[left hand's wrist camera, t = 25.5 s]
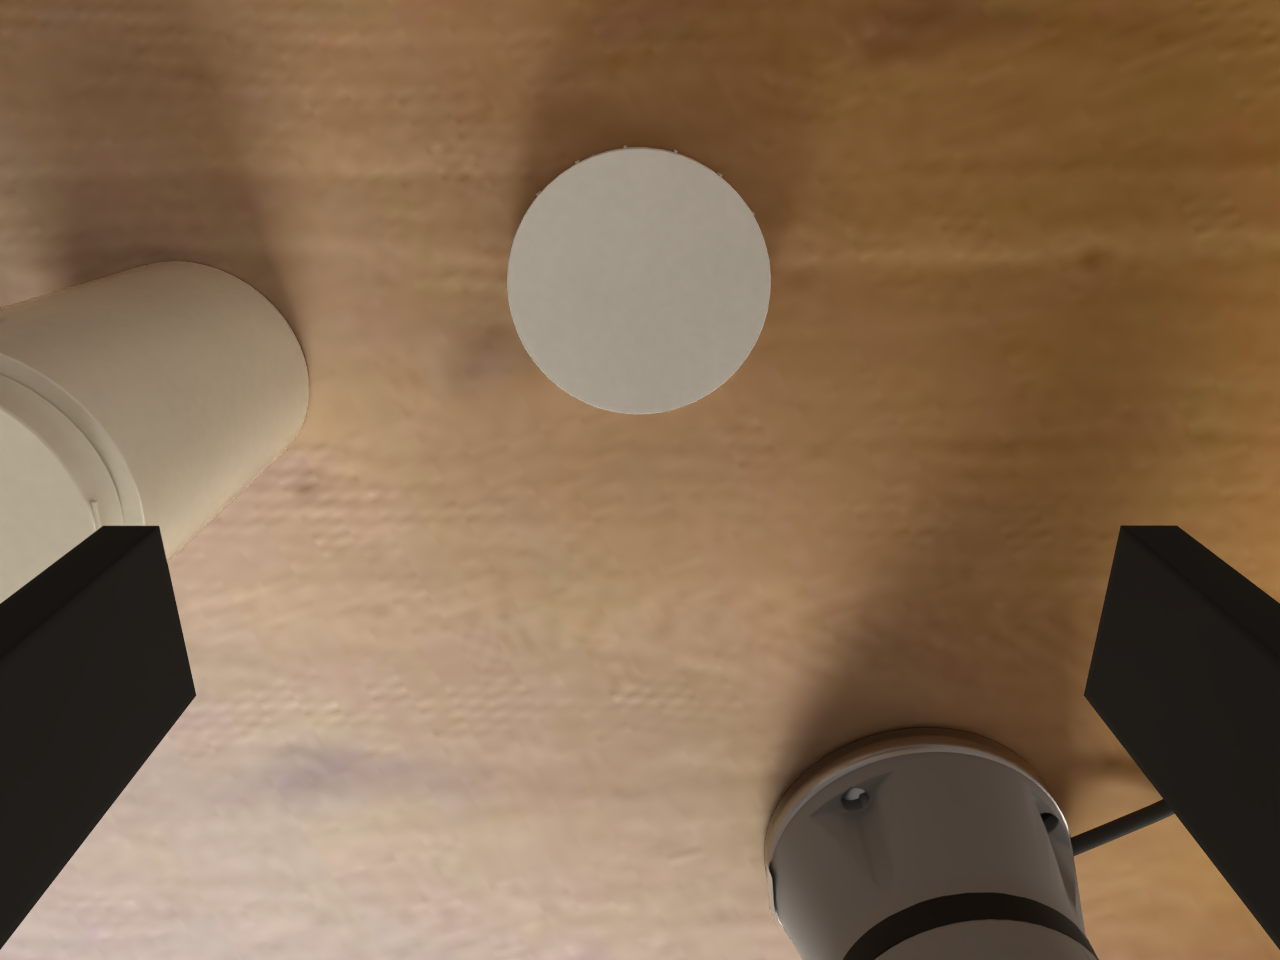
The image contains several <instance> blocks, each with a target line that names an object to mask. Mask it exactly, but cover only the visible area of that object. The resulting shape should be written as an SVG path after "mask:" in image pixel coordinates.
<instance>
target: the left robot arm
mask: <svg viewBox="0 0 1280 960" xmlns="http://www.w3.org/2000/svg"><path fill="white" fill-rule="evenodd" d="M195 696H196V693H195V688H194V684H193V679H192V674H191V670H190V665H189V661H188V656H187V651H186V647H185V642H184V638H183V633H182V628H181V624H180V619H179V615H178V610H177V605H176V601H175V596H174V592H173V587H172V582H171V578H170V573H169V568H168V564H167V559H166V555H165V550H164V545H163V541H162V536H161V532H160V527H159V526H102V527H101V528H99V529H98V530H97V531H95V532H94V533H93V534H92V535H90V536H89V537H88V538H86V539H85V540H84V541H82V542H81V543H80V544H78V545H77V546H76V547H74V548H73V549H72V550H70V551H69V552H68V553H66V554H65V555H64V556H62V557H61V558H60V559H59V560H57V561H56V562H55V563H53V564H52V565H51V566H49V567H48V568H47V569H45V570H44V571H43V572H41V573H40V574H39V575H37V576H36V577H35V578H33V579H32V580H31V581H30V582H28V583H27V584H26V585H24V586H23V587H22V588H20V589H19V590H18V591H16V592H15V593H14V594H12V595H11V596H10V597H8V598H7V599H6V600H4V601H3V602H2V603H0V949H1V948H2V947H3V945H4V944H5V943H6V942H7V940H8V939H9V938H10V936H11V935H12V934H13V932H14V931H15V930H16V929H17V927H18V926H19V925H20V923H21V922H22V921H23V920H24V918H25V917H26V916H27V914H28V913H29V912H30V910H31V909H32V908H33V907H34V905H35V904H36V903H37V901H38V900H39V899H40V897H41V896H42V895H43V894H44V892H45V891H46V890H47V888H48V887H49V886H50V884H51V883H52V882H53V881H54V879H55V878H56V877H57V875H58V874H59V873H60V871H61V870H62V869H63V868H64V866H65V865H66V864H67V862H68V861H69V860H70V858H71V857H72V856H73V855H74V853H75V852H76V851H77V849H78V848H79V847H80V845H81V844H82V843H83V842H84V840H85V839H86V838H87V836H88V835H89V834H90V832H91V831H92V830H93V829H94V827H95V826H96V825H97V823H98V822H99V821H100V820H101V818H102V817H103V816H104V814H105V813H106V812H107V810H108V809H109V808H110V807H111V805H112V804H113V803H114V801H115V800H116V799H117V797H118V796H119V795H120V794H121V792H122V791H123V790H124V788H125V787H126V786H127V784H128V783H129V782H130V781H131V779H132V778H133V777H134V775H135V774H136V773H137V771H138V770H139V769H140V768H141V766H142V765H143V764H144V762H145V761H146V760H147V758H148V757H149V756H150V755H151V753H152V752H153V751H154V749H155V748H156V747H157V745H158V744H159V743H160V742H161V740H162V739H163V738H164V736H165V735H166V734H167V732H168V731H169V730H170V729H171V727H172V726H173V725H174V723H175V722H176V721H177V720H178V718H179V717H180V716H181V714H182V713H183V712H184V710H185V709H186V708H187V707H188V705H189V704H190V703H191V701H192V700H193V699H194V697H195ZM1084 696H1085V697H1086V699H1087V700H1088V701H1089V703H1090V704H1091V705H1092V707H1093V708H1094V709H1095V710H1096V712H1097V713H1098V714H1099V716H1100V717H1101V718H1102V720H1103V721H1104V722H1105V723H1106V725H1107V726H1108V727H1109V729H1110V730H1111V731H1112V732H1113V734H1114V735H1115V736H1116V738H1117V739H1118V740H1119V742H1120V743H1121V744H1122V745H1123V747H1124V748H1125V749H1126V751H1127V752H1128V753H1129V755H1130V756H1131V757H1132V758H1133V760H1134V761H1135V762H1136V764H1137V765H1138V766H1139V768H1140V769H1141V770H1142V771H1143V773H1144V774H1145V775H1146V777H1147V778H1148V779H1149V781H1150V782H1151V783H1152V784H1153V786H1154V787H1155V788H1156V790H1157V791H1158V792H1159V794H1160V795H1161V796H1162V797H1163V799H1162V800H1160V801H1158V802H1156V803H1154V804H1152V805H1150V806H1147V807H1145V808H1143V809H1140V810H1138V811H1135V812H1133V813H1130V814H1128V815H1125V816H1123V817H1121V818H1118V819H1116V820H1113V821H1111V822H1109V823H1106V824H1104V825H1101V826H1099V827H1097V828H1094V829H1092V830H1089V831H1087V832H1084V833H1082V834H1079V835H1077V836H1074V837H1072V838H1070V833H1069V829H1068V826H1067V823H1066V821H1065V818H1064V816H1063V814H1062V812H1061V810H1060V809H1059V807H1058V805H1057V804H1056V802H1055V801H1054V799H1053V797H1052V796H1051V794H1050V792H1049V791H1048V789H1047V787H1046V786H1045V784H1044V782H1043V781H1042V779H1041V778H1040V777H1039V775H1038V774H1037V773H1036V772H1035V770H1034V769H1033V768H1032V767H1031V766H1030V765H1029V764H1028V763H1027V762H1026V761H1025V760H1023V759H1022V758H1021V757H1019V756H1018V755H1017V754H1016V753H1014V752H1012V751H1011V750H1009V749H1008V748H1006V747H1004V746H1002V745H1000V744H998V743H996V742H994V741H992V740H990V739H987V738H984V737H981V736H979V735H975V734H971V733H968V732H963V731H958V730H952V729H942V728H911V729H902V730H895V731H889V732H885V733H881V734H876V735H873V736H870V737H867V738H864V739H860V740H858V741H856V742H853V743H851V744H848V745H846V746H844V747H842V748H840V749H838V750H836V751H834V752H832V753H831V754H829V755H828V756H826V757H824V758H823V759H821V760H820V761H818V762H817V763H816V764H814V765H813V766H812V767H810V768H809V769H808V770H807V771H806V772H805V773H804V774H802V775H801V776H800V777H799V778H798V779H797V780H796V781H795V782H794V784H793V785H792V786H791V787H790V788H789V789H788V791H787V792H786V793H785V795H784V796H783V797H782V799H781V801H780V802H779V804H778V806H777V807H776V809H775V811H774V813H773V816H772V818H771V820H770V823H769V826H768V829H767V833H766V838H765V846H764V863H765V869H766V875H767V881H768V892H769V906H770V911H771V914H772V917H773V920H774V922H775V914H776V916H777V918H778V920H779V922H780V923H781V925H782V927H783V928H784V930H785V931H786V933H787V935H788V936H789V938H790V939H791V941H792V942H793V944H794V946H795V948H796V949H797V951H798V953H799V955H800V956H801V958H802V960H1099V959H1098V958H1097V956H1096V954H1095V952H1094V950H1093V948H1092V946H1091V945H1090V943H1089V941H1088V939H1087V937H1086V935H1085V930H1084V923H1083V917H1082V910H1081V903H1080V897H1079V890H1078V883H1077V877H1076V870H1075V863H1074V857H1073V856H1075V855H1078V854H1080V853H1083V852H1085V851H1088V850H1090V849H1093V848H1095V847H1097V846H1100V845H1102V844H1105V843H1107V842H1110V841H1112V840H1114V839H1117V838H1119V837H1121V836H1124V835H1126V834H1129V833H1131V832H1133V831H1136V830H1138V829H1141V828H1143V827H1145V826H1148V825H1150V824H1153V823H1155V822H1157V821H1160V820H1162V819H1164V818H1166V817H1168V816H1170V815H1173V814H1176V816H1177V817H1178V818H1179V820H1180V821H1181V822H1182V823H1183V825H1184V826H1185V827H1186V829H1187V830H1188V831H1189V832H1190V834H1191V835H1192V836H1193V838H1194V839H1195V840H1196V842H1197V843H1198V844H1199V845H1200V847H1201V848H1202V849H1203V851H1204V852H1205V853H1206V855H1207V856H1208V857H1209V858H1210V860H1211V861H1212V862H1213V864H1214V865H1215V866H1216V868H1217V869H1218V870H1219V871H1220V873H1221V874H1222V875H1223V877H1224V878H1225V879H1226V881H1227V882H1228V883H1229V884H1230V886H1231V887H1232V888H1233V890H1234V891H1235V892H1236V894H1237V895H1238V896H1239V897H1240V899H1241V900H1242V901H1243V903H1244V904H1245V905H1246V907H1247V908H1248V909H1249V910H1250V912H1251V913H1252V914H1253V916H1254V917H1255V918H1256V920H1257V921H1258V922H1259V923H1260V925H1261V926H1262V927H1263V929H1264V930H1265V931H1266V932H1267V934H1268V935H1269V936H1270V938H1271V939H1272V940H1273V942H1274V943H1275V944H1276V945H1277V947H1278V948H1279V949H1280V603H1278V602H1277V601H1276V600H1274V599H1273V598H1272V597H1270V596H1269V595H1268V594H1266V593H1265V592H1264V591H1262V590H1261V589H1260V588H1258V587H1257V586H1256V585H1254V584H1253V583H1252V582H1250V581H1249V580H1248V579H1247V578H1245V577H1244V576H1243V575H1241V574H1240V573H1239V572H1237V571H1236V570H1235V569H1233V568H1232V567H1231V566H1229V565H1228V564H1227V563H1225V562H1224V561H1223V560H1221V559H1220V558H1219V557H1218V556H1216V555H1215V554H1214V553H1212V552H1211V551H1210V550H1208V549H1207V548H1206V547H1204V546H1203V545H1202V544H1200V543H1199V542H1198V541H1196V540H1195V539H1194V538H1192V537H1191V536H1190V535H1188V534H1187V533H1186V532H1185V531H1183V530H1182V529H1181V528H1179V527H1178V526H1121V527H1120V532H1119V536H1118V541H1117V545H1116V550H1115V555H1114V559H1113V564H1112V568H1111V573H1110V578H1109V582H1108V587H1107V592H1106V596H1105V601H1104V605H1103V610H1102V615H1101V619H1100V624H1099V628H1098V633H1097V638H1096V642H1095V647H1094V651H1093V656H1092V661H1091V665H1090V670H1089V674H1088V679H1087V684H1086V688H1085V693H1084ZM774 911H775V913H774Z"/></svg>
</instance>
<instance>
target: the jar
mask: <svg viewBox="0 0 1280 960" xmlns="http://www.w3.org/2000/svg"><path fill="white" fill-rule="evenodd" d="M308 403H309V377H308V371H307V366H306V362H305V358H304V356H303V353H302V350H301V347H300V345H299V343H298V341H297V339H296V337H295V335H294V333H293V331H292V329H291V328H290V326H289V325H288V323H287V322H286V320H285V319H284V318H283V316H282V315H281V314H280V313H279V311H278V310H277V309H276V308H275V307H274V306H273V305H272V304H271V303H270V302H269V301H268V300H267V299H266V298H265V297H264V296H263V295H262V294H260V293H259V292H258V291H257V290H255V289H254V288H253V287H251V286H250V285H248V284H247V283H245V282H243V281H242V280H240V279H238V278H237V277H235V276H233V275H231V274H229V273H226V272H224V271H222V270H220V269H216V268H213V267H210V266H207V265H203V264H198V263H193V262H183V261H166V262H156V263H152V264H147V265H143V266H140V267H136V268H133V269H129V270H126V271H123V272H119V273H116V274H113V275H109V276H106V277H102V278H99V279H96V280H92V281H89V282H85V283H82V284H79V285H75V286H72V287H68V288H65V289H62V290H58V291H55V292H52V293H48V294H45V295H41V296H38V297H35V298H31V299H28V300H24V301H21V302H18V303H14V304H11V305H7V306H4V307H1V308H0V603H2V602H3V601H4V600H6V599H7V598H8V597H10V596H11V595H12V594H14V593H15V592H16V591H18V590H19V589H20V588H22V587H23V586H24V585H26V584H27V583H28V582H30V581H31V580H32V579H33V578H35V577H36V576H37V575H39V574H40V573H41V572H43V571H44V570H45V569H47V568H48V567H49V566H51V565H52V564H53V563H55V562H56V561H57V560H59V559H60V558H61V557H62V556H64V555H65V554H66V553H68V552H69V551H70V550H72V549H73V548H74V547H76V546H77V545H78V544H80V543H81V542H82V541H84V540H85V539H86V538H88V537H89V536H90V535H92V534H93V533H94V532H95V531H97V530H98V529H99V528H101V527H102V526H159V527H160V532H161V536H162V541H163V545H164V550H165V555H166V559H167V563H168V562H169V561H170V560H171V559H172V558H173V557H174V556H175V555H176V554H177V553H178V552H179V551H181V550H182V549H183V548H184V547H185V546H186V545H187V544H188V543H189V542H190V541H191V540H192V539H193V538H194V537H195V536H197V535H198V534H199V533H200V532H201V531H202V530H203V529H204V528H205V527H206V526H207V525H208V524H209V523H210V522H211V521H212V520H214V519H215V518H216V517H217V516H218V515H219V514H220V513H221V512H222V511H223V510H224V509H225V508H226V507H227V506H228V505H230V504H231V503H232V502H233V501H234V500H235V499H236V498H237V497H238V496H239V495H240V494H241V493H242V492H243V491H244V490H245V489H247V488H248V487H249V486H250V485H251V484H252V483H253V482H254V481H255V480H256V479H257V478H258V477H259V476H260V475H261V474H263V473H264V472H265V471H266V470H267V469H268V468H269V467H270V466H271V465H272V464H273V463H274V462H275V461H276V460H277V459H278V458H280V457H281V456H282V455H283V454H284V453H285V452H286V451H287V450H288V449H289V447H290V446H291V445H292V443H293V442H294V441H295V439H296V437H297V436H298V434H299V432H300V430H301V428H302V425H303V423H304V420H305V417H306V413H307V408H308Z"/></svg>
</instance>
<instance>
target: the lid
mask: <svg viewBox="0 0 1280 960" xmlns="http://www.w3.org/2000/svg"><path fill="white" fill-rule="evenodd" d="M721 177H722V175H721V174H720V173H719V172H718V173H717V174H716V173H715V172H714V171H712V170H711V169H709V168H708V167H706V166H704V165H703V164H701V163H699V162H698V161H696V160H694V159H691V158H689V157H687V156H684V155H682V154H679V153H677V150H673V152H672V151H668V150H664V149H658V148H650V147H627V145H624V148H620V149H614V150H609V151H606V152H602V153H599V154H596V155H593V156H591V157H589V158H587V159H585V160H582V161H580V160H577V161H576V162H575V165H573V166H572V167H570V168H569V169H567V170H566V171H564V172H563V173H561V174H560V175H559V176H558V177H556V178H555V179H554V180H553V181H552V182H551V183H549V184H548V185H547V186H546V187H545V188H544V189H543V191H542V192H541V191H540V192H538V193H537V194H536V196H537V197H536V198H535V200H534V201H533V203H532V204H531V206H530V207H529V209H528V210H527V212H526V213H525V215H524V217H523V219H522V221H521V223H520V225H519V227H518V229H517V231H516V234H515V236H514V237H513V239H512V240H513V244H512V247H511V251H510V256H509V262H508V272H507V290H508V301H509V306H510V311H511V316H512V319H513V322H514V325H515V328H516V331H517V333H518V335H519V337H520V339H521V341H522V343H523V345H524V347H525V349H526V351H527V352H528V354H529V355H530V357H531V358H532V360H533V361H534V362H535V364H536V365H537V366H538V367H539V368H540V369H541V371H542V372H543V373H544V374H545V375H546V376H547V377H548V378H549V379H550V380H551V381H553V382H554V383H555V384H556V385H557V386H558V387H560V388H561V389H563V390H564V391H566V392H567V393H568V394H570V395H571V396H573V397H575V398H577V399H579V400H581V401H583V402H585V403H587V404H590V405H593V406H595V407H598V408H601V409H605V410H609V411H613V412H618V413H627V414H652V413H659V412H666V411H669V410H673V409H677V408H680V407H683V406H686V405H688V404H690V403H693V402H695V401H697V400H699V399H701V398H703V397H704V396H706V395H708V394H710V393H711V392H713V391H714V390H715V389H717V388H718V387H719V386H721V385H722V384H723V383H725V382H726V381H727V380H728V379H729V378H730V377H731V376H732V375H733V374H734V373H735V372H736V371H737V370H738V368H739V367H740V366H741V365H742V363H743V362H744V361H745V360H746V358H747V357H748V355H749V353H750V352H751V350H752V349H753V347H754V345H755V344H756V341H757V339H758V337H759V335H760V332H761V330H762V328H763V325H764V321H765V318H766V315H767V311H768V305H769V299H770V287H771V274H770V263H769V262H770V259H769V257H768V252H767V248H766V244H765V241H764V238H763V235H762V233H761V230H760V227H759V225H758V223H757V221H756V219H755V218H754V216H753V215H755V214H754V212H753V211H752V210H750V209H749V207H748V206H747V205H746V203H745V202H744V200H743V199H742V198H741V196H740V195H739V194H738V193H737V192H736V191H735V190H734V189H733V188H732V187H731V186H730V185H729V184H728V182H726V181H725V180H724V179H723V178H721Z"/></svg>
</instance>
